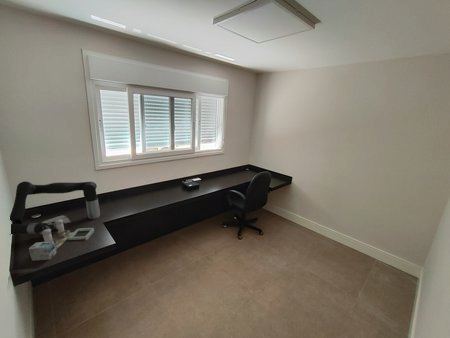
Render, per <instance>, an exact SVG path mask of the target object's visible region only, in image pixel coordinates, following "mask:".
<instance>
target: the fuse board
mask: <svg viewBox="0 0 450 338" xmlns="http://www.w3.org/2000/svg"><path fill="white" fill-rule="evenodd" d="M64 230H65V234H64V235H58V233H57V232H55V233H54V234H53V235H52V239H53V241H54V244H55V248H56V251H57V250H58V248H60V246H62V245H63V244H64V243H65V242H66V240H69V239H68V237H69V236H70V235H71V234H73V233H74V232H75V231H73V232H71V231H70V229H67V230H66V229H64Z"/></svg>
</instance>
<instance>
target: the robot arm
mask: <svg viewBox="0 0 450 338" xmlns="http://www.w3.org/2000/svg"><path fill="white" fill-rule="evenodd" d="M15 189H16V192H15V198H14V201H13V202H14V203H13V206H12V209H11V212H10V214H9V217H10V220H11V221H10V220H9V221H10V222H11V223H10V224H11V234H13V235H15V236H16V235H18V234H24V235H27V234H28V235H29V234H32V235H33V234H39V235H41V236H43V235H42V231H43V230H46V229H51V234H52V233H57V232H58V229H57V228H56V225H55V221H54V222H52V223H51V224H47V223H42V222H33V223H23V218H24V215H25V212H26V201H27V197H28V196H31V195H40V194H41V195H42V194H68V193H72V192H73V193H74V192H77V191H78V192H79V191H82V192H83V198H84V200H85V205H86V211H87V217H88V219H89V220H95V219H99V218H100V216H101V210H100V205H99V198H98V195H97V190H96V189H97V183H96V182H94V181H84V182H83V181H81V182H52V183H48V184H33V183H31V182H29V181H21V182H19V183H18V184H17V186H16V188H15ZM66 224H67V223H63V226H64V227H65V226H66ZM54 225H55V227H54ZM11 234H10V235H11Z"/></svg>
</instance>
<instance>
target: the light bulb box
mask: <svg viewBox="0 0 450 338" xmlns="http://www.w3.org/2000/svg"><path fill="white" fill-rule="evenodd" d="M28 251H29V254H30V259H31V261H34V262H35V261H47V260H52V258H53V257H55V255H56V254H57V250H56V248H55V244H54V241H50V242H44V241H41V242H40V241H39V242H34V244H33V245H31V246H30V247H29V248H28Z"/></svg>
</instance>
